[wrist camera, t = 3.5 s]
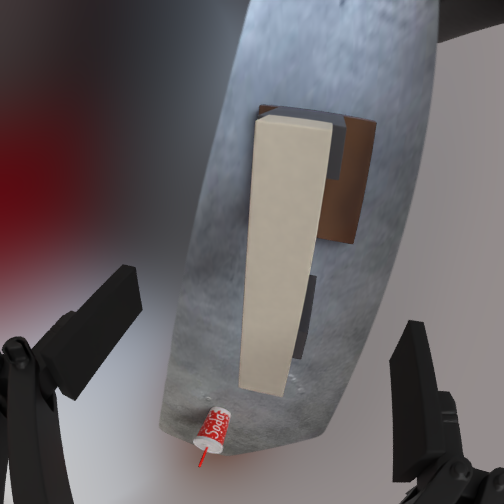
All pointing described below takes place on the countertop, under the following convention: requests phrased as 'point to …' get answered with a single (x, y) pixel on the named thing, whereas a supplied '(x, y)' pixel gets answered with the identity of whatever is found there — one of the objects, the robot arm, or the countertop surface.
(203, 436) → the beverage cup
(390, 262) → the countertop surface
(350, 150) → the headphone stand
